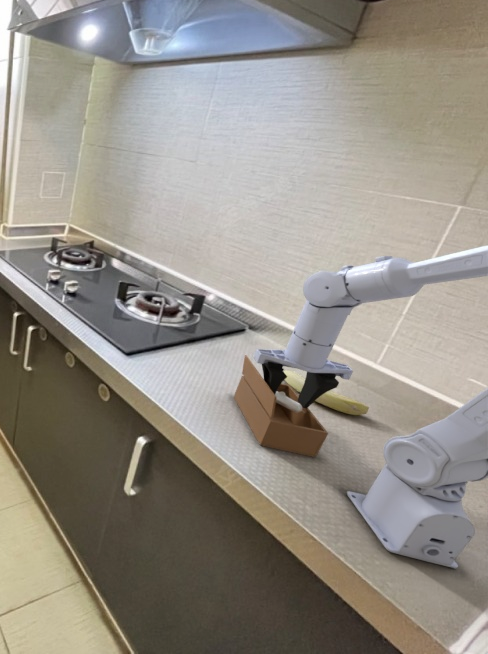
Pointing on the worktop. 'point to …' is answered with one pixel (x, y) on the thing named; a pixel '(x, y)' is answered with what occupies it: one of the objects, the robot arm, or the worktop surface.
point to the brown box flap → (259, 386)
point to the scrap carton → (281, 422)
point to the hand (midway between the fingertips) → (284, 401)
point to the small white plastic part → (288, 402)
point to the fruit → (328, 396)
